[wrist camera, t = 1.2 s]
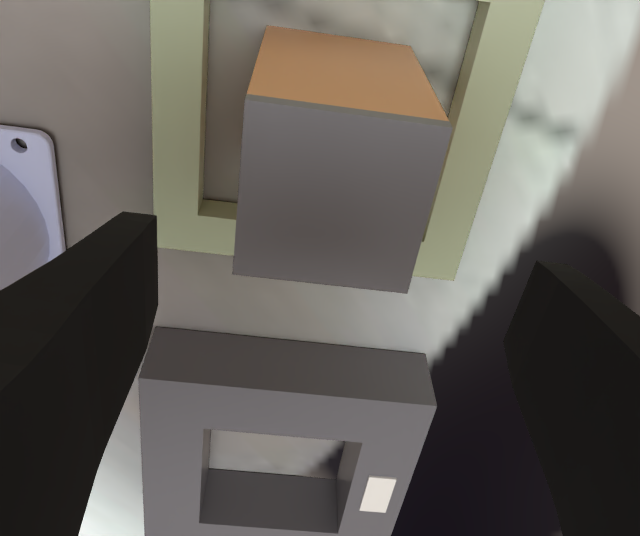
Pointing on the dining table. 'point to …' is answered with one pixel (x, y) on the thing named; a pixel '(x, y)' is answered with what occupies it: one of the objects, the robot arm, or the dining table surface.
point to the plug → (337, 161)
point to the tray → (457, 170)
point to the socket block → (278, 433)
